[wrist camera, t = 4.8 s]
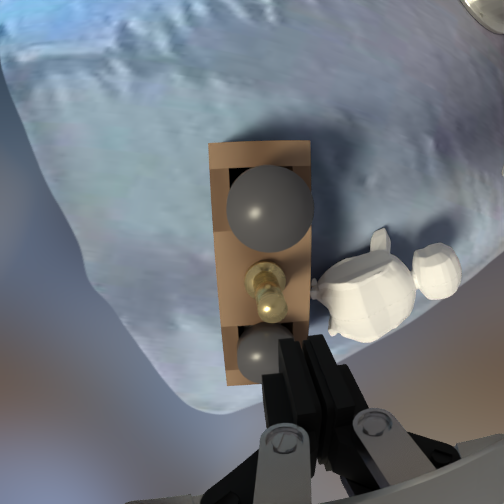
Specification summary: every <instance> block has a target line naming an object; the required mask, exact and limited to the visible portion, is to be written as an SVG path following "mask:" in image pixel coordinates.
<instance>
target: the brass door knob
mask: <svg viewBox="0 0 504 504" xmlns="http://www.w3.org/2000/svg"><path fill="white" fill-rule="evenodd" d="M244 283H245V289H246V291H247V293H248V294H249V295H250V296H251V297H252V298H254V299H256V304H257V309H258V314H259V317H260V318H261V319H262V320H263V321H265V322H267V323H277V322H279V321H281V320H283V319H284V318H285V316H286V315H287V312H288V306H287V303H286V301H285V298H284V295H283V293H282V292H283V290H284V288H285V285H286V278H285V275H284V272H283V270H282V269H281V267H280V266H279V265H278V264H276V263H275V262H272V261H268V260H263V261H258V262H256V263H254V264H252V265H251V266H250V267H249V268H248V270H247V271H246V273H245V277H244Z"/></svg>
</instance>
